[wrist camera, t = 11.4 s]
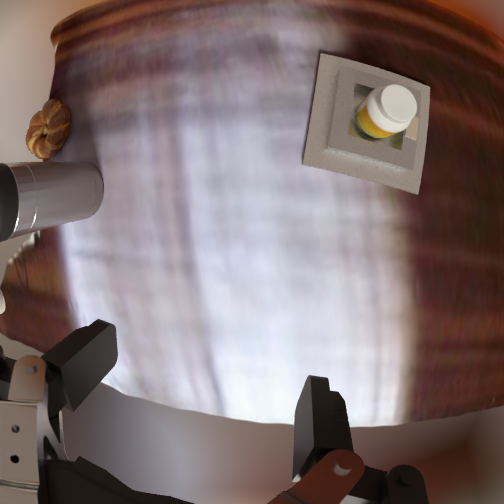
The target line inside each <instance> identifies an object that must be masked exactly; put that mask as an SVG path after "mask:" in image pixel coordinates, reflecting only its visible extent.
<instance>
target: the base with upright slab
mask: <svg viewBox="0 0 504 504" xmlns="http://www.w3.org/2000/svg"><path fill="white" fill-rule="evenodd" d="M4 311H5V301H4V297H3V294H2V291H1V289H0V314H1V313H3V312H4Z"/></svg>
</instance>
